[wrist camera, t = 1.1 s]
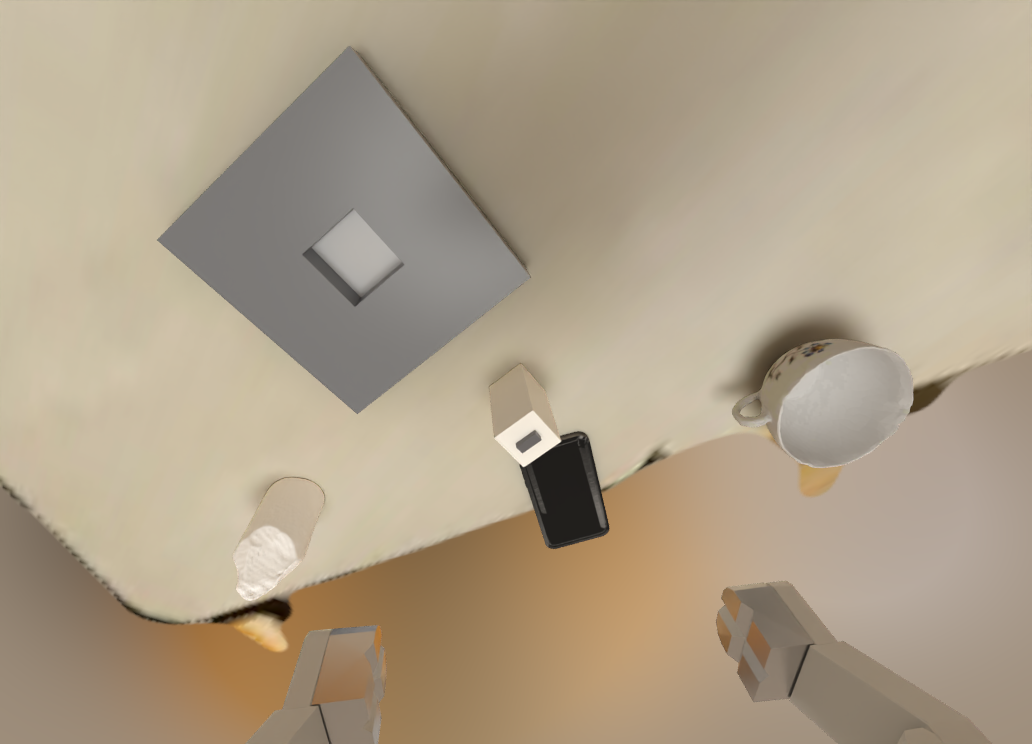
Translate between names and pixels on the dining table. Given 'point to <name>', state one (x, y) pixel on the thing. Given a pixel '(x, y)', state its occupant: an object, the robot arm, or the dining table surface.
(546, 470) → the phone
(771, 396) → the teacup
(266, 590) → the white bottle
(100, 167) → the dining table surface
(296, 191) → the grey socket board
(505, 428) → the charger plug
